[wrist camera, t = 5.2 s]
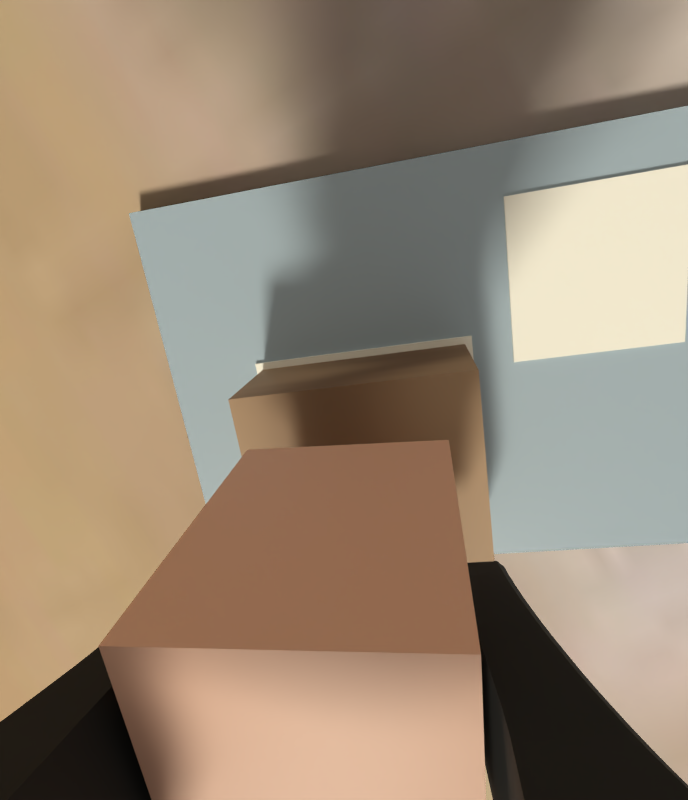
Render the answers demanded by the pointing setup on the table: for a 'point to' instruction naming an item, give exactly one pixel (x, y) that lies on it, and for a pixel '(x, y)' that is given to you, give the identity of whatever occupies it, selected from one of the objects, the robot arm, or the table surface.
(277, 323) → the board
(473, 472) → the walnut block
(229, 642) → the terracotta block
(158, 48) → the table surface
